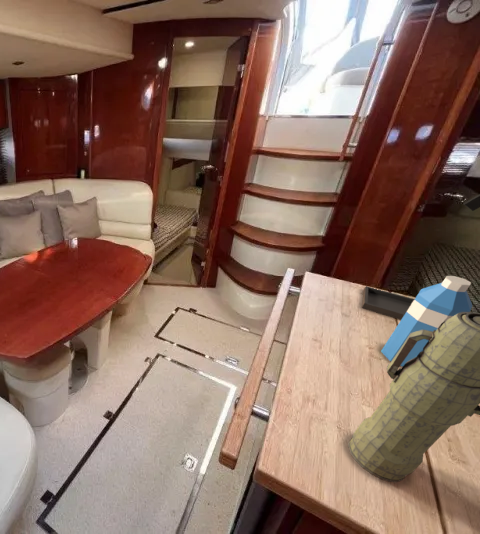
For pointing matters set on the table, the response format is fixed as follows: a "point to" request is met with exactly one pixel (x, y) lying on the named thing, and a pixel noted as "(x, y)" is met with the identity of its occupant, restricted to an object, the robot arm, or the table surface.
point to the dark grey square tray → (385, 302)
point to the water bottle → (429, 314)
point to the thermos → (422, 398)
